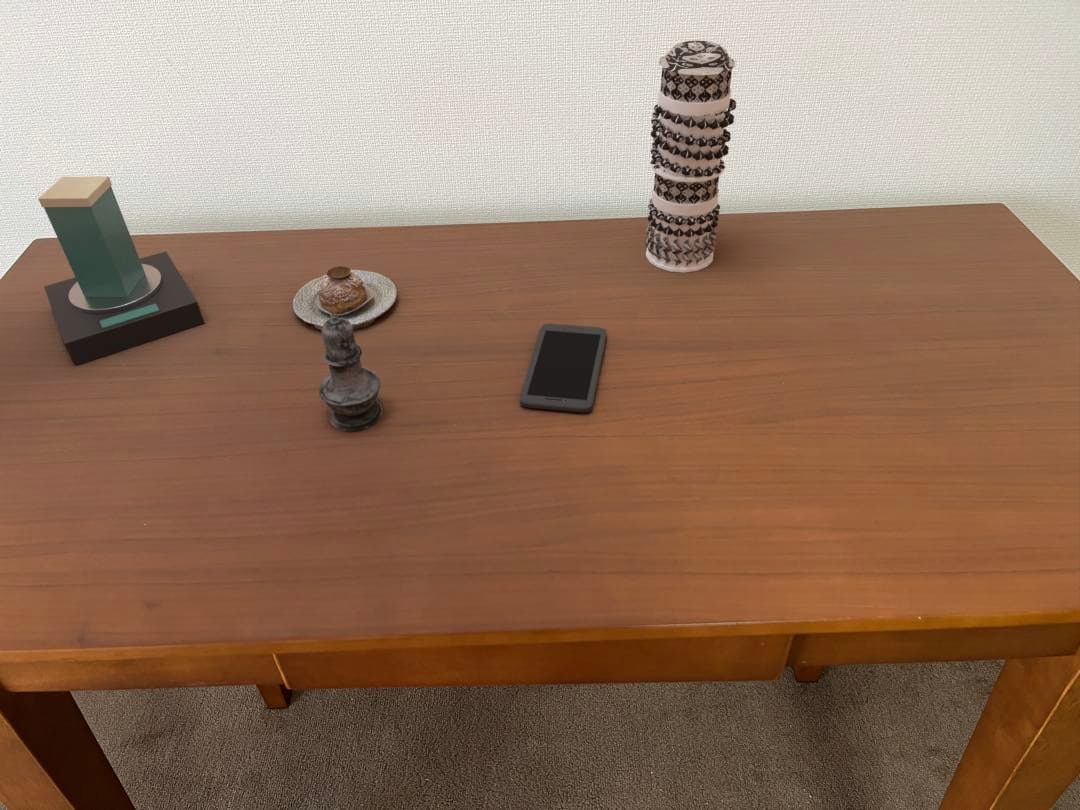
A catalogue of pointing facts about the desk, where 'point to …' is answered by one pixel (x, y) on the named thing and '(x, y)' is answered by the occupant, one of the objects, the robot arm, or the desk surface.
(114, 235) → the spice tin
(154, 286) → the scale pan
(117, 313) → the scale
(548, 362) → the cell phone
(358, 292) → the pastry
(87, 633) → the desk surface
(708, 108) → the decorative candle
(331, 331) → the dark grey piece
